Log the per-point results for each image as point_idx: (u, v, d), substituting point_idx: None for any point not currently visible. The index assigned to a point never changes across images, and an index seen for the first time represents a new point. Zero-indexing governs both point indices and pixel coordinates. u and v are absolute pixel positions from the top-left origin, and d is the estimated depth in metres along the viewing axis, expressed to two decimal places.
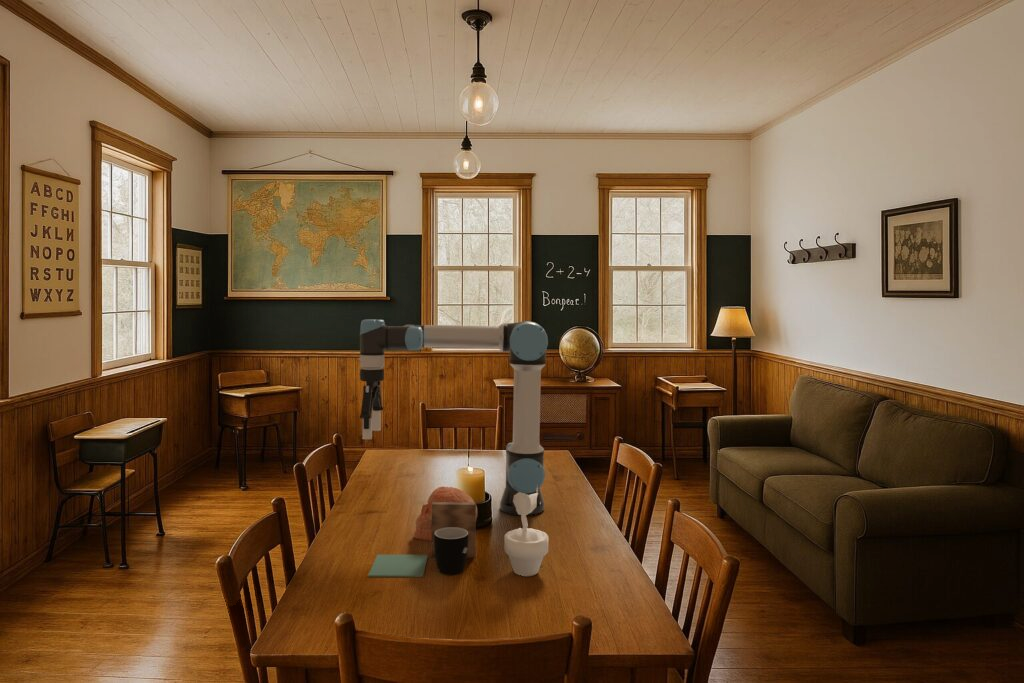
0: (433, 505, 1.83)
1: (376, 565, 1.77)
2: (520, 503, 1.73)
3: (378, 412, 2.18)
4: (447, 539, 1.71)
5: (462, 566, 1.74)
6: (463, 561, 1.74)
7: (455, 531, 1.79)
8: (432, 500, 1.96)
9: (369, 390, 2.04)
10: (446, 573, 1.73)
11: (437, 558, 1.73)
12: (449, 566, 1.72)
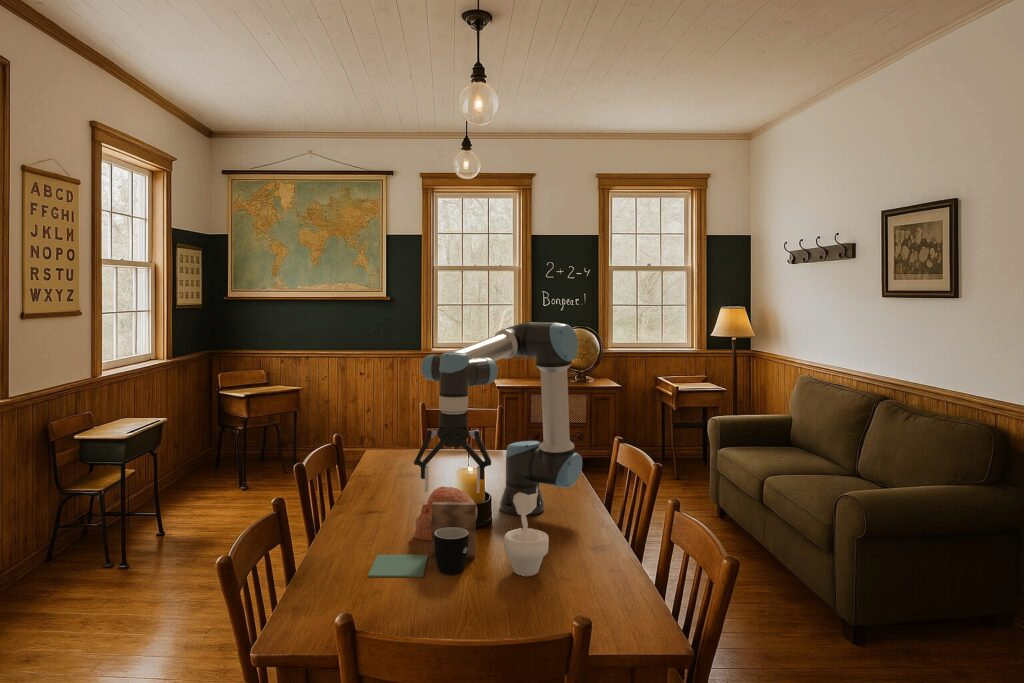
0: (433, 505, 1.83)
1: (376, 565, 1.77)
2: (520, 503, 1.73)
3: (477, 469, 1.75)
4: (447, 539, 1.71)
5: (462, 566, 1.74)
6: (463, 561, 1.74)
7: (455, 531, 1.79)
8: (432, 500, 1.96)
9: (426, 435, 1.74)
10: (446, 573, 1.73)
11: (437, 558, 1.73)
12: (449, 566, 1.72)
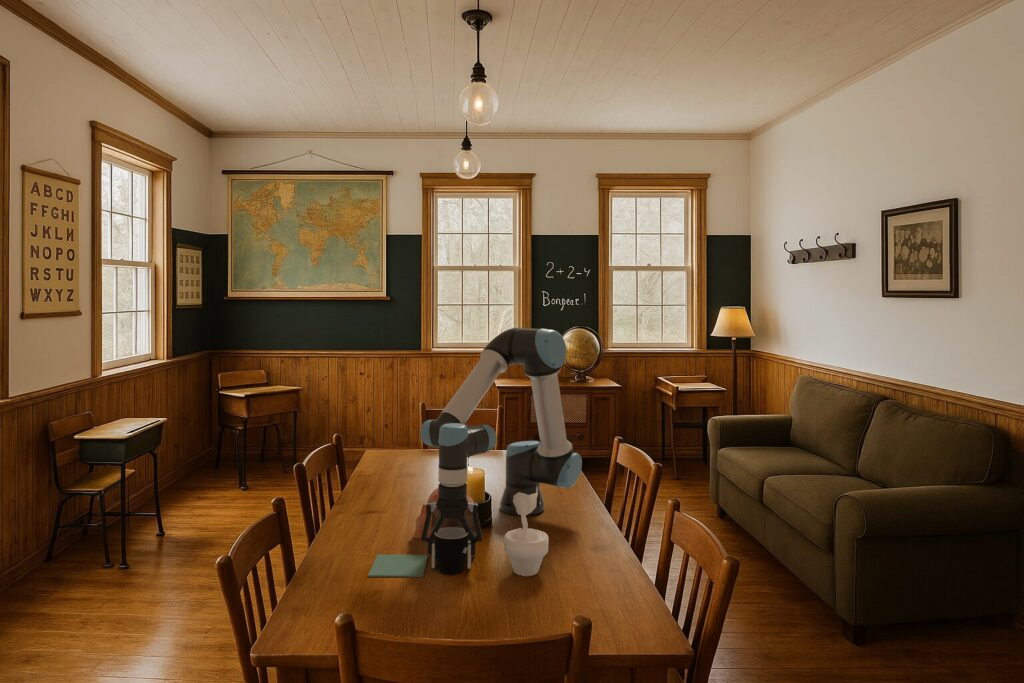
0: None
1: (376, 565, 1.77)
2: (520, 503, 1.73)
3: (468, 545, 1.76)
4: (447, 539, 1.71)
5: (462, 566, 1.74)
6: (463, 561, 1.74)
7: (455, 531, 1.79)
8: (432, 500, 1.96)
9: None
10: (446, 573, 1.73)
11: (437, 558, 1.73)
12: (449, 566, 1.72)
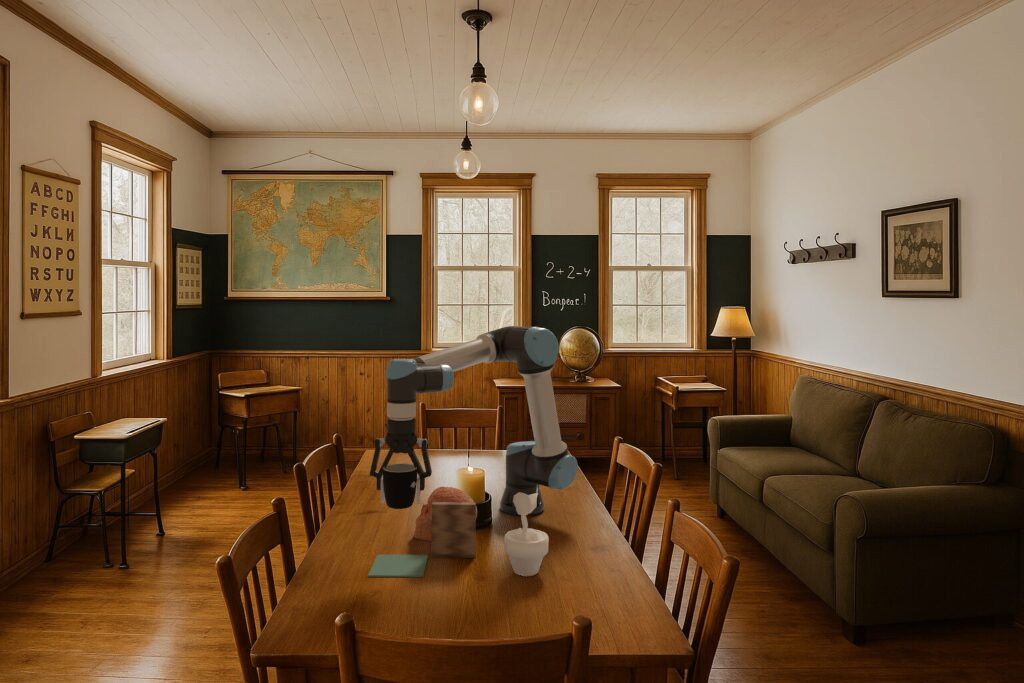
0: (433, 505, 1.83)
1: (376, 565, 1.77)
2: (520, 503, 1.73)
3: (417, 480, 1.76)
4: (395, 472, 1.70)
5: (410, 500, 1.73)
6: (411, 496, 1.73)
7: (405, 467, 1.79)
8: (432, 500, 1.96)
9: None
10: (394, 507, 1.72)
11: (385, 492, 1.73)
12: (397, 500, 1.71)
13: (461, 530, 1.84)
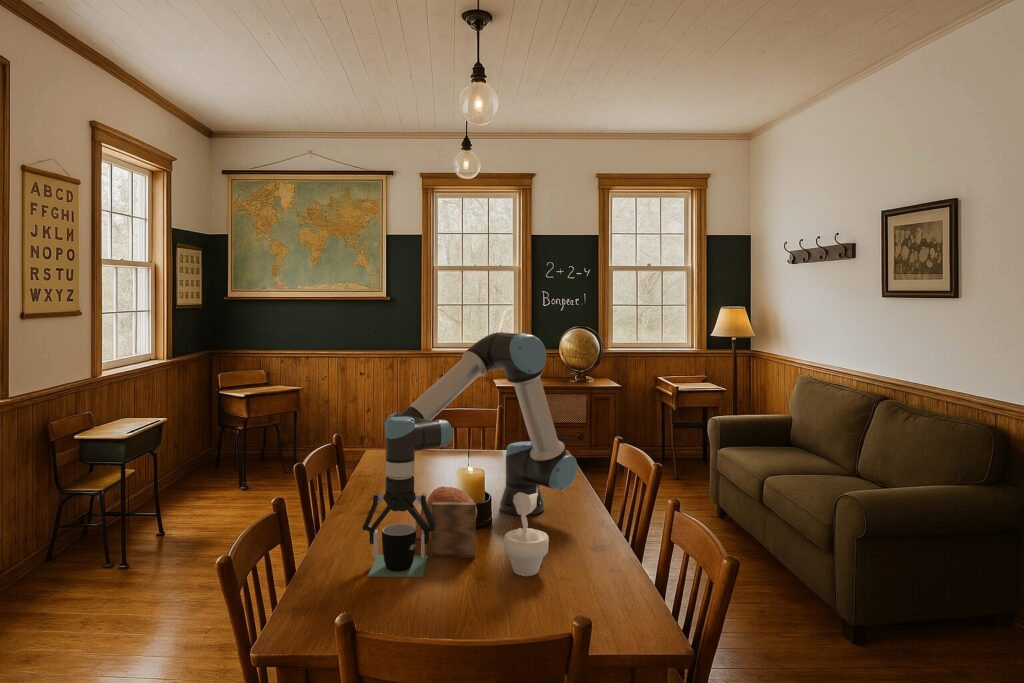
0: (433, 505, 1.83)
1: (376, 565, 1.77)
2: (520, 503, 1.73)
3: None
4: (393, 536, 1.72)
5: (409, 563, 1.74)
6: (410, 558, 1.74)
7: (404, 528, 1.80)
8: (432, 500, 1.96)
9: None
10: (393, 569, 1.73)
11: (384, 555, 1.74)
12: (396, 563, 1.72)
13: (461, 530, 1.84)
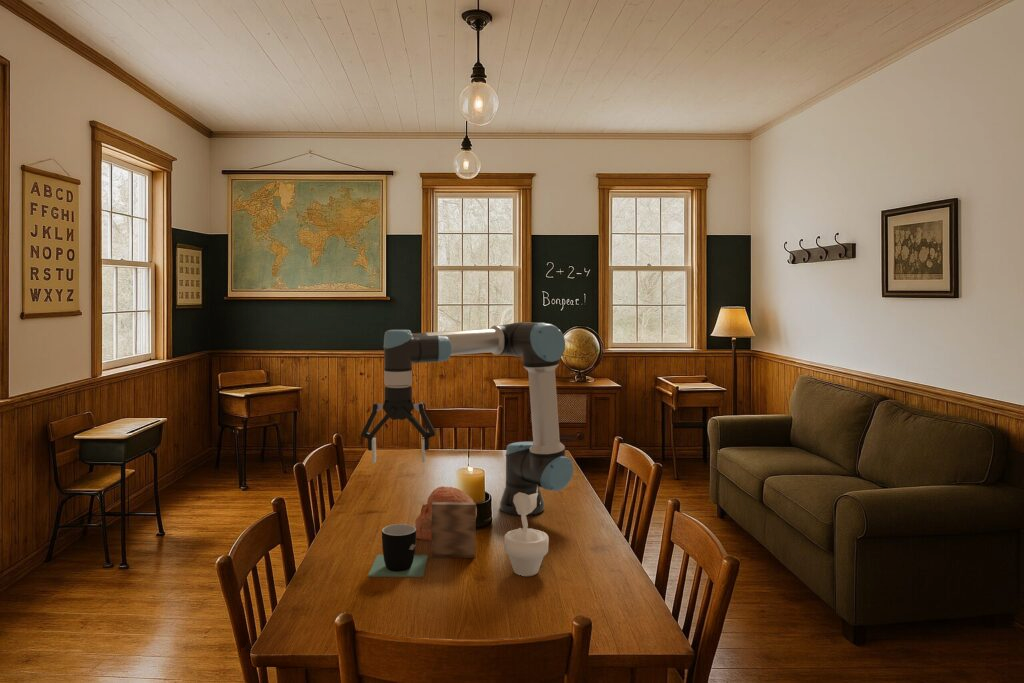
0: (433, 505, 1.83)
1: (376, 565, 1.77)
2: (520, 503, 1.73)
3: None
4: (393, 536, 1.72)
5: (409, 563, 1.74)
6: (410, 558, 1.74)
7: (404, 528, 1.80)
8: (432, 500, 1.96)
9: None
10: (393, 569, 1.73)
11: (384, 555, 1.74)
12: (396, 563, 1.72)
13: (461, 530, 1.84)
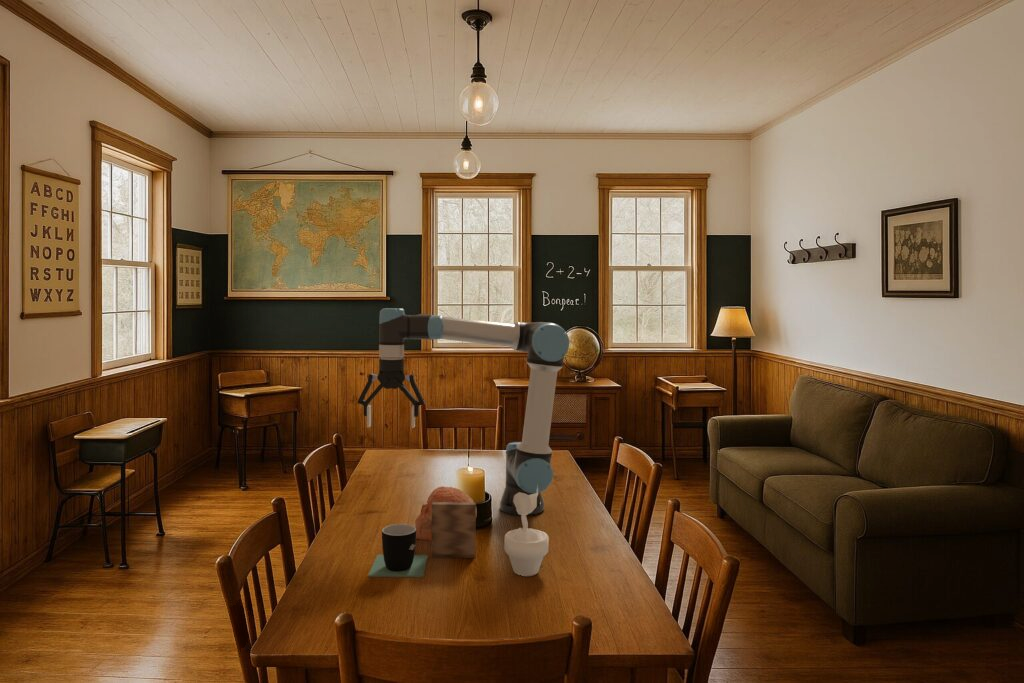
0: (433, 505, 1.83)
1: (376, 565, 1.77)
2: (520, 503, 1.73)
3: None
4: (393, 536, 1.72)
5: (409, 563, 1.74)
6: (410, 558, 1.74)
7: (404, 528, 1.80)
8: (432, 500, 1.96)
9: None
10: (393, 569, 1.73)
11: (384, 555, 1.74)
12: (396, 563, 1.72)
13: (461, 530, 1.84)
